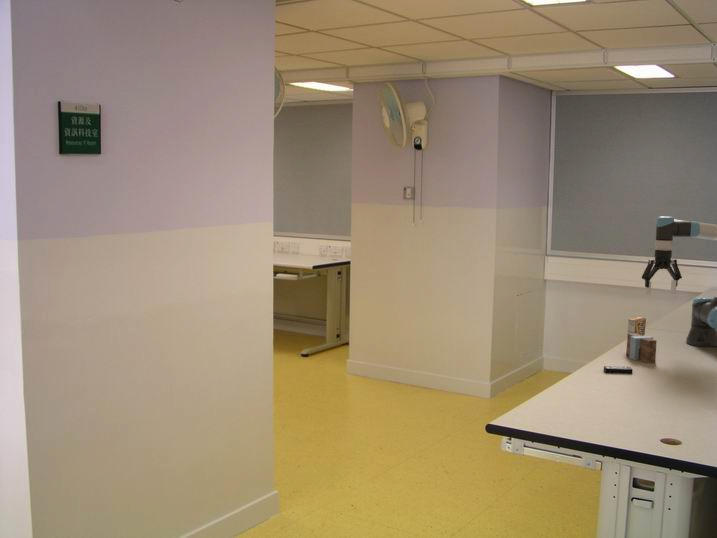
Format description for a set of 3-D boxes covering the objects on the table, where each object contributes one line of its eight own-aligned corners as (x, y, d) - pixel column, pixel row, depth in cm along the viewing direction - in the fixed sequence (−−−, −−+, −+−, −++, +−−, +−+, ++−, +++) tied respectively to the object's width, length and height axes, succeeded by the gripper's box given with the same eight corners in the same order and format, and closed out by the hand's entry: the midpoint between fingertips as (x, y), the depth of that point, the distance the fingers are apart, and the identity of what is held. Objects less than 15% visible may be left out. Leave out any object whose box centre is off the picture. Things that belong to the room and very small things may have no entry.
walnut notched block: (634, 354, 367) (635, 333, 365) (655, 362, 351) (656, 340, 350) (626, 354, 366) (627, 333, 364) (647, 363, 350) (648, 340, 349)
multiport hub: (632, 374, 331) (632, 369, 331) (605, 373, 332) (606, 368, 332) (629, 372, 335) (630, 366, 335) (603, 371, 336) (603, 365, 336)
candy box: (636, 348, 380) (638, 316, 378) (644, 349, 377) (646, 318, 375) (626, 350, 375) (627, 318, 373) (634, 352, 372) (635, 320, 370)
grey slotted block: (646, 357, 362) (648, 335, 360) (652, 359, 358) (653, 337, 357) (629, 358, 359) (630, 336, 358) (634, 360, 355) (635, 338, 354)
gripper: (681, 248, 380) (678, 292, 382) (635, 248, 374) (632, 293, 376) (691, 249, 373) (688, 294, 375) (645, 250, 366) (642, 295, 369)
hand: (660, 293), depth 376 cm, fingers open, 13 cm apart
